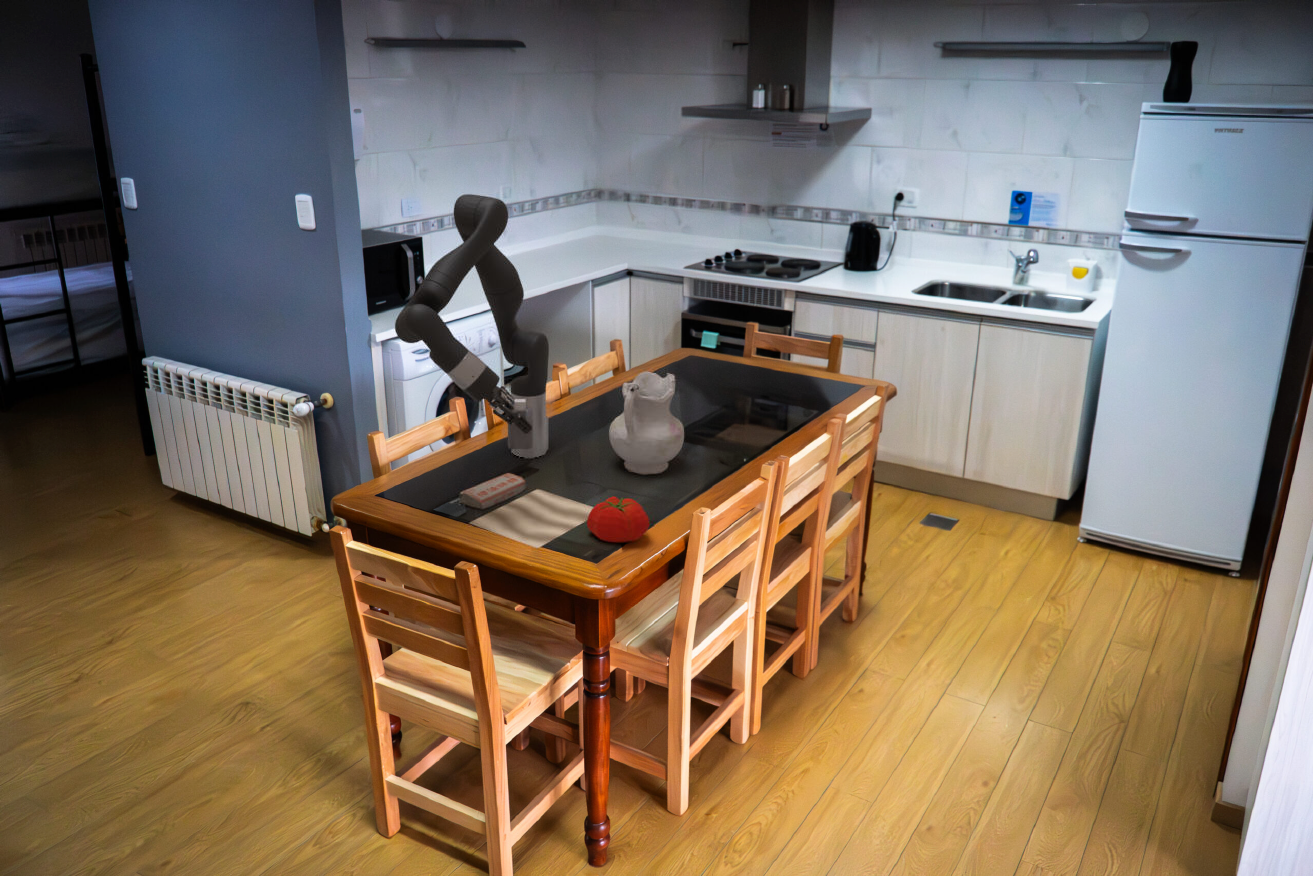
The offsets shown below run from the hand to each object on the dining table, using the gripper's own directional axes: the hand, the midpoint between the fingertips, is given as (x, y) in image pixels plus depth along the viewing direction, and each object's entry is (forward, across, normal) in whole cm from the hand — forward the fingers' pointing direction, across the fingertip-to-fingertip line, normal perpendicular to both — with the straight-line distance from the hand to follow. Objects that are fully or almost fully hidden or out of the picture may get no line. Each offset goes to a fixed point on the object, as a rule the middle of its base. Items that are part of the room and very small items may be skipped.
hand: (529, 427), depth 225 cm
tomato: (+29, -12, +2) cm, 32 cm away
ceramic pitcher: (+37, +28, -5) cm, 46 cm away
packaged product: (+9, +8, +22) cm, 26 cm away
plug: (+2, 0, +5) cm, 5 cm away
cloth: (+17, -3, +14) cm, 22 cm away
